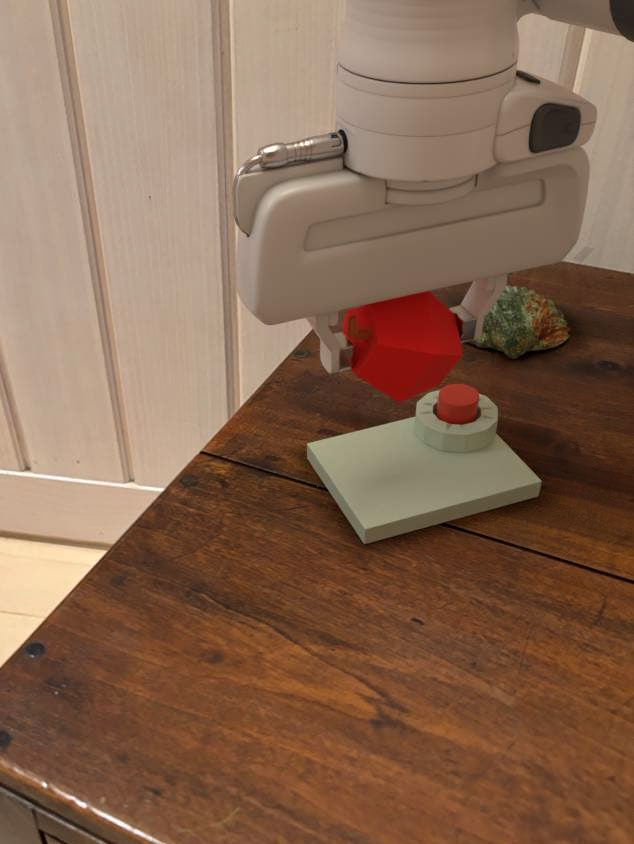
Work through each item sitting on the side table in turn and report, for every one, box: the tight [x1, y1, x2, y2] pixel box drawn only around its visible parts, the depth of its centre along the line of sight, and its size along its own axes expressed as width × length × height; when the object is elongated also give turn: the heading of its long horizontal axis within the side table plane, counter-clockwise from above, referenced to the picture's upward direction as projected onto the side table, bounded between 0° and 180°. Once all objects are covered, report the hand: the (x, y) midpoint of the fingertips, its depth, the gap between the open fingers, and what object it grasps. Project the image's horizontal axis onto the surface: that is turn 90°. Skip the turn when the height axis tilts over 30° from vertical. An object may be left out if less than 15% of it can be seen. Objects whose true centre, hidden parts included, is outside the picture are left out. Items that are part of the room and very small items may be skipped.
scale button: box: [436, 383, 480, 425], centre depth 65 cm, size 3×3×2 cm
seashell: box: [457, 285, 571, 360], centre depth 78 cm, size 10×4×10 cm
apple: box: [342, 291, 464, 404], centre depth 56 cm, size 7×7×8 cm
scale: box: [306, 389, 543, 545], centre depth 64 cm, size 13×10×3 cm
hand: (401, 351), depth 57 cm, fingers closed on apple, 7 cm apart
